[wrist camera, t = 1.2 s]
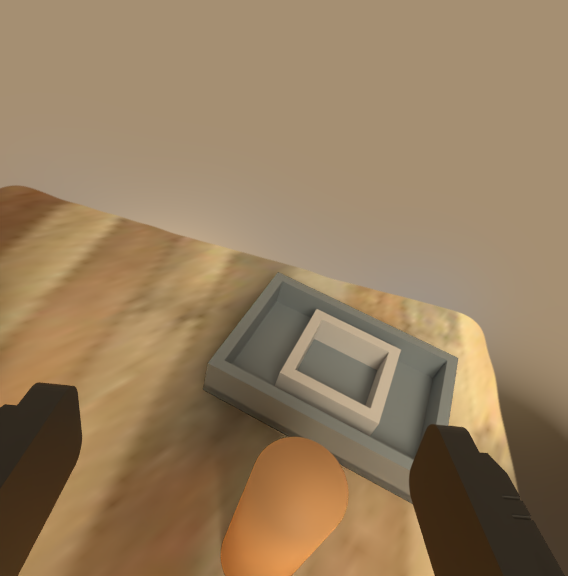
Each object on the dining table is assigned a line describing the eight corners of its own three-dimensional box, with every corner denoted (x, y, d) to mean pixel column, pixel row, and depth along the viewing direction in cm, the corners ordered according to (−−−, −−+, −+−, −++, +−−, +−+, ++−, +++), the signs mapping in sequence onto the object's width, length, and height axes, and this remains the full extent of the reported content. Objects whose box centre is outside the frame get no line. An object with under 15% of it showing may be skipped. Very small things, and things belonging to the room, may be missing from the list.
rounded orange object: (206, 572, 28) (232, 505, 20) (242, 501, 31) (276, 420, 23) (274, 614, 27) (329, 562, 19) (302, 536, 31) (359, 465, 22)
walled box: (203, 389, 37) (207, 362, 35) (270, 298, 47) (277, 272, 45) (416, 505, 34) (439, 486, 31) (439, 380, 44) (458, 358, 42)
